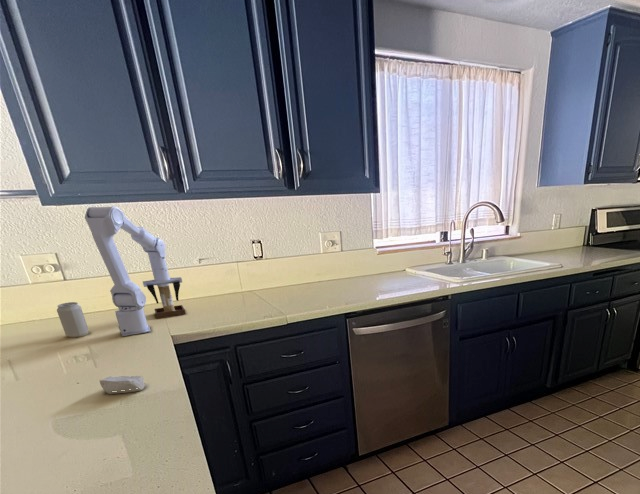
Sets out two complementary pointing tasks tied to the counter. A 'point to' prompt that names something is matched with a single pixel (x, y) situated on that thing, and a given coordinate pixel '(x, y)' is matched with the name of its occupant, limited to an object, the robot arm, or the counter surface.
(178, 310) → the tray
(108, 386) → the grey rock
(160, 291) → the sprinkles bottle
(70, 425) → the counter surface
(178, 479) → the counter surface
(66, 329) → the can
